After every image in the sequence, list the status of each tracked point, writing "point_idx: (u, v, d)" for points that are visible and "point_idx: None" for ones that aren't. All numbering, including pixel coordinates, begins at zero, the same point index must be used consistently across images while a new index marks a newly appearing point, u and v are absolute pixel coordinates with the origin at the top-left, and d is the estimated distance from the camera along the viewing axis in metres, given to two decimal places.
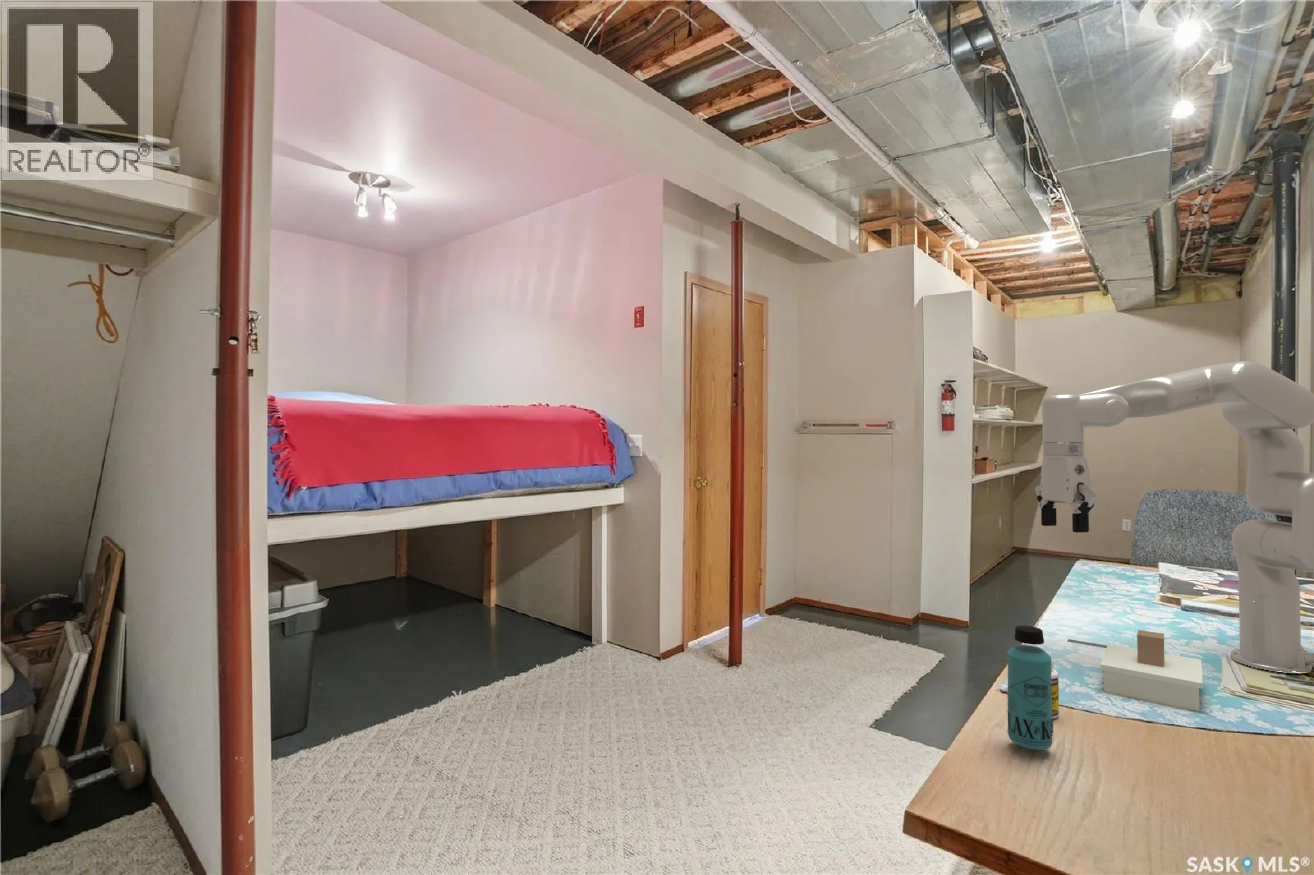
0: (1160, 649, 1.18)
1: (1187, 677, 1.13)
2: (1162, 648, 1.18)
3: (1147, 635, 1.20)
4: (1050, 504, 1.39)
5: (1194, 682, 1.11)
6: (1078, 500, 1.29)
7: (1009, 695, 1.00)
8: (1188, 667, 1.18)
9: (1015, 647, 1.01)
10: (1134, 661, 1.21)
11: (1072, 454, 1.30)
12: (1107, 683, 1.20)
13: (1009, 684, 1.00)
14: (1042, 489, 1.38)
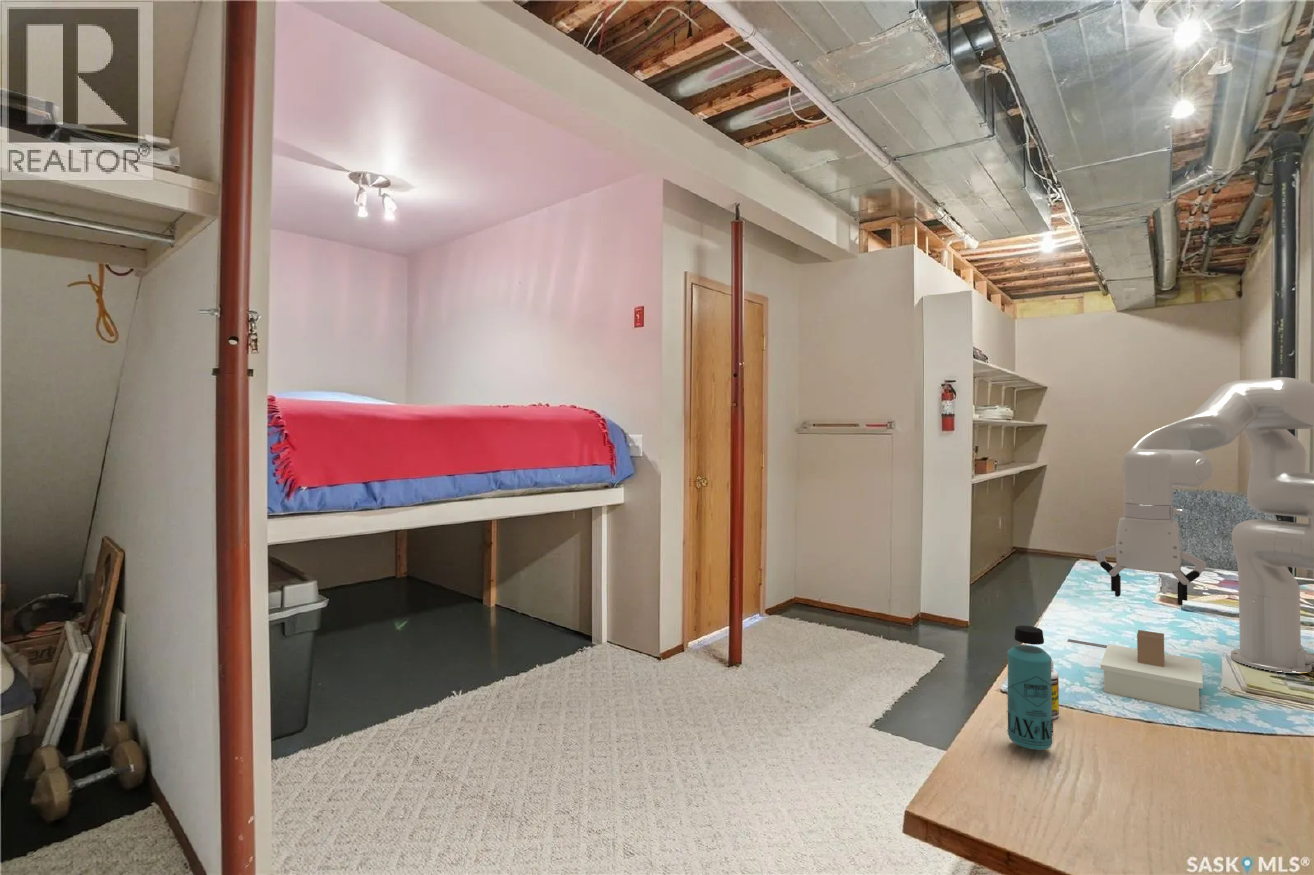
0: (1160, 649, 1.18)
1: (1187, 677, 1.13)
2: (1162, 648, 1.18)
3: (1147, 635, 1.20)
4: None
5: (1194, 682, 1.11)
6: None
7: (1009, 695, 1.00)
8: (1188, 667, 1.18)
9: (1015, 647, 1.01)
10: (1134, 661, 1.21)
11: (1171, 518, 1.18)
12: (1107, 683, 1.20)
13: (1009, 684, 1.00)
14: (1122, 556, 1.22)
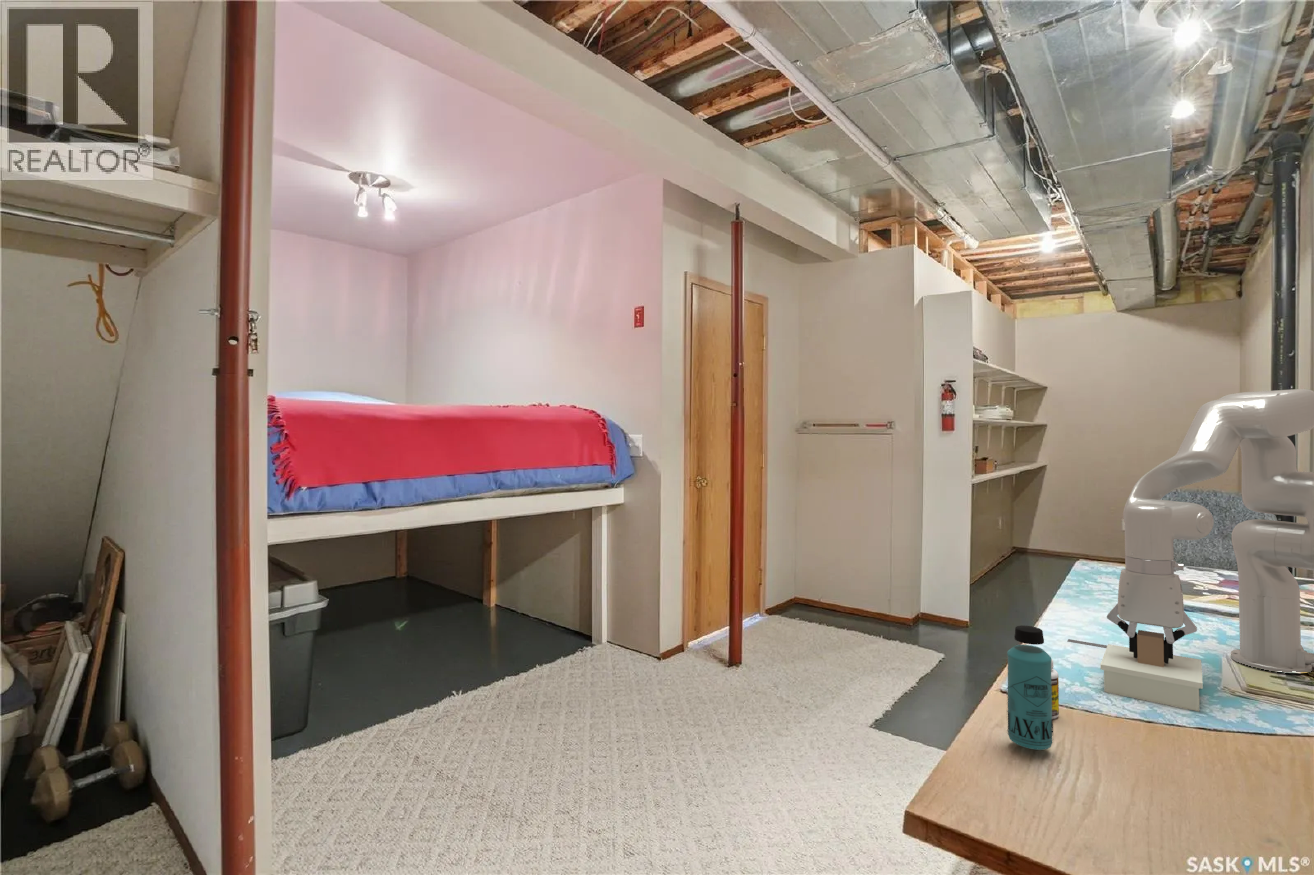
0: (1160, 649, 1.18)
1: (1187, 677, 1.13)
2: (1162, 648, 1.18)
3: (1147, 635, 1.20)
4: None
5: (1194, 682, 1.11)
6: None
7: (1009, 695, 1.00)
8: (1188, 667, 1.18)
9: (1015, 647, 1.01)
10: (1134, 661, 1.21)
11: None
12: (1107, 683, 1.20)
13: (1009, 684, 1.00)
14: (1125, 609, 1.22)
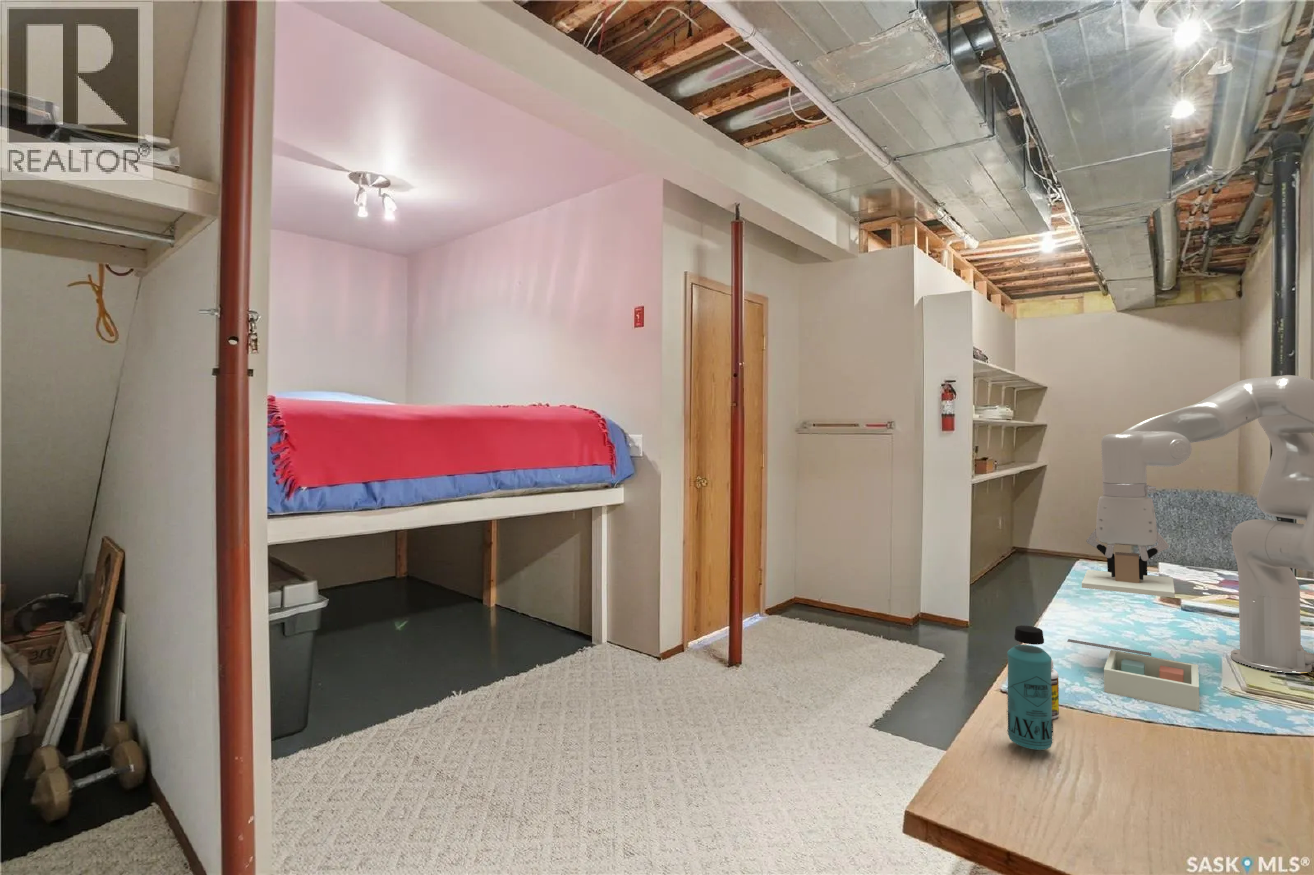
0: (1135, 567, 1.27)
1: (1161, 589, 1.22)
2: (1137, 565, 1.27)
3: (1124, 555, 1.29)
4: None
5: (1167, 592, 1.20)
6: None
7: (1009, 695, 1.00)
8: (1161, 583, 1.27)
9: (1015, 647, 1.01)
10: (1112, 580, 1.30)
11: (1146, 495, 1.27)
12: (1107, 683, 1.20)
13: (1009, 684, 1.00)
14: (1103, 532, 1.31)
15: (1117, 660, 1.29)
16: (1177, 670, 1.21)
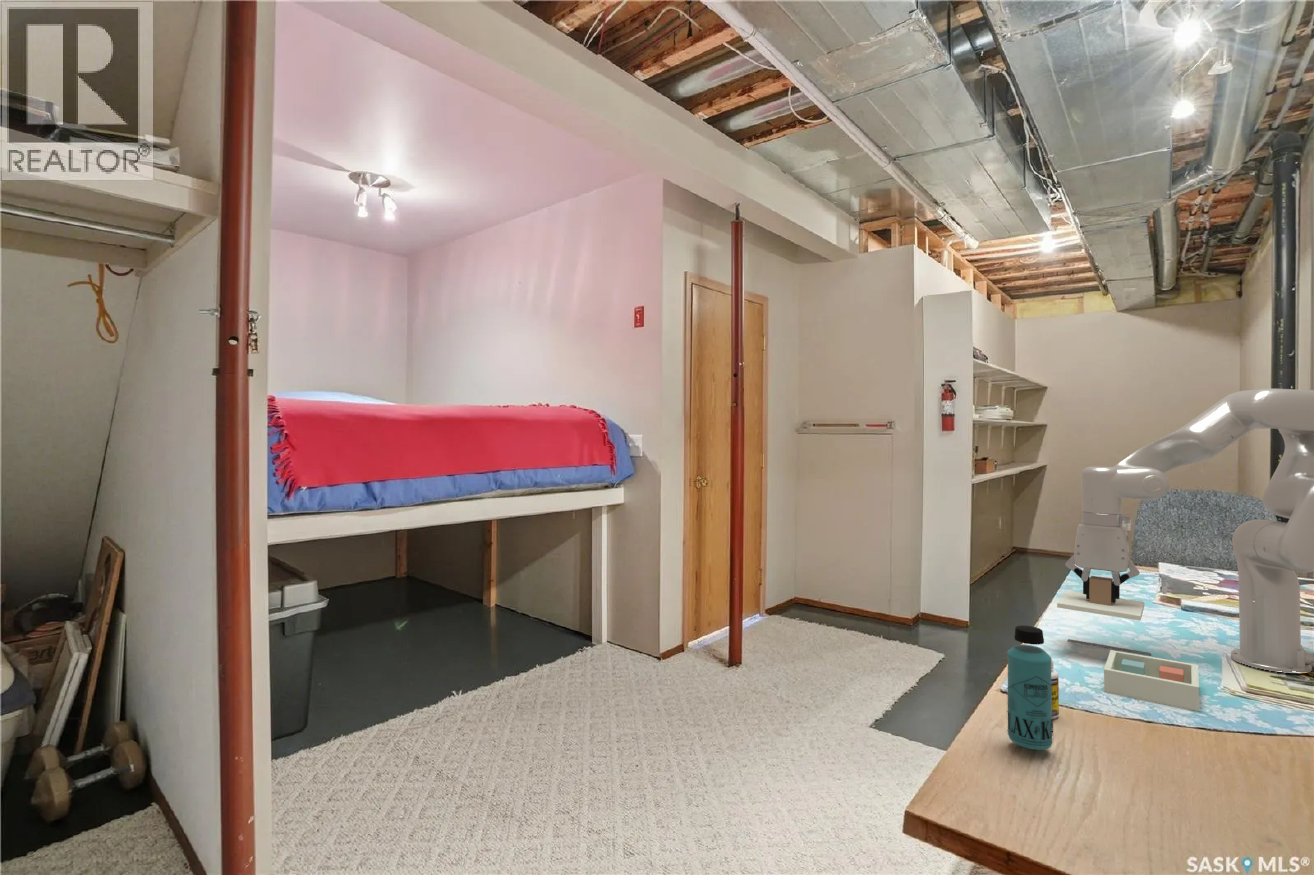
0: (1108, 590, 1.38)
1: (1129, 612, 1.33)
2: (1110, 589, 1.38)
3: (1098, 579, 1.40)
4: (1087, 575, 1.43)
5: (1134, 615, 1.31)
6: None
7: (1009, 695, 1.00)
8: (1131, 606, 1.37)
9: (1015, 647, 1.01)
10: (1086, 602, 1.41)
11: None
12: (1107, 683, 1.20)
13: (1009, 684, 1.00)
14: (1080, 557, 1.41)
15: (1117, 660, 1.29)
16: (1177, 670, 1.21)
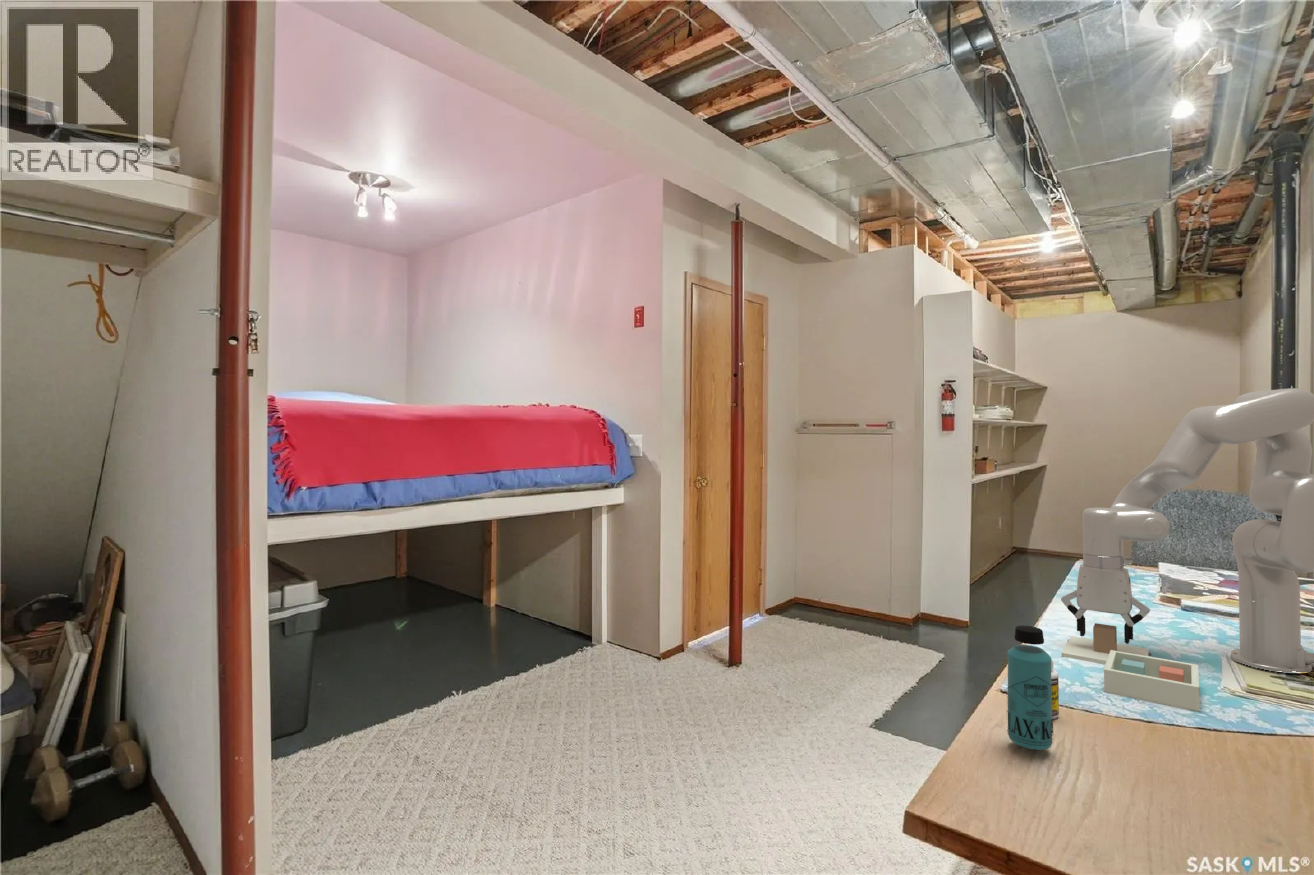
0: (1112, 640, 1.38)
1: None
2: (1114, 638, 1.38)
3: (1102, 627, 1.40)
4: None
5: None
6: None
7: (1009, 695, 1.00)
8: None
9: (1015, 647, 1.01)
10: (1090, 650, 1.41)
11: (1122, 567, 1.38)
12: (1107, 683, 1.20)
13: (1009, 684, 1.00)
14: (1082, 599, 1.41)
15: (1117, 660, 1.29)
16: (1177, 670, 1.21)
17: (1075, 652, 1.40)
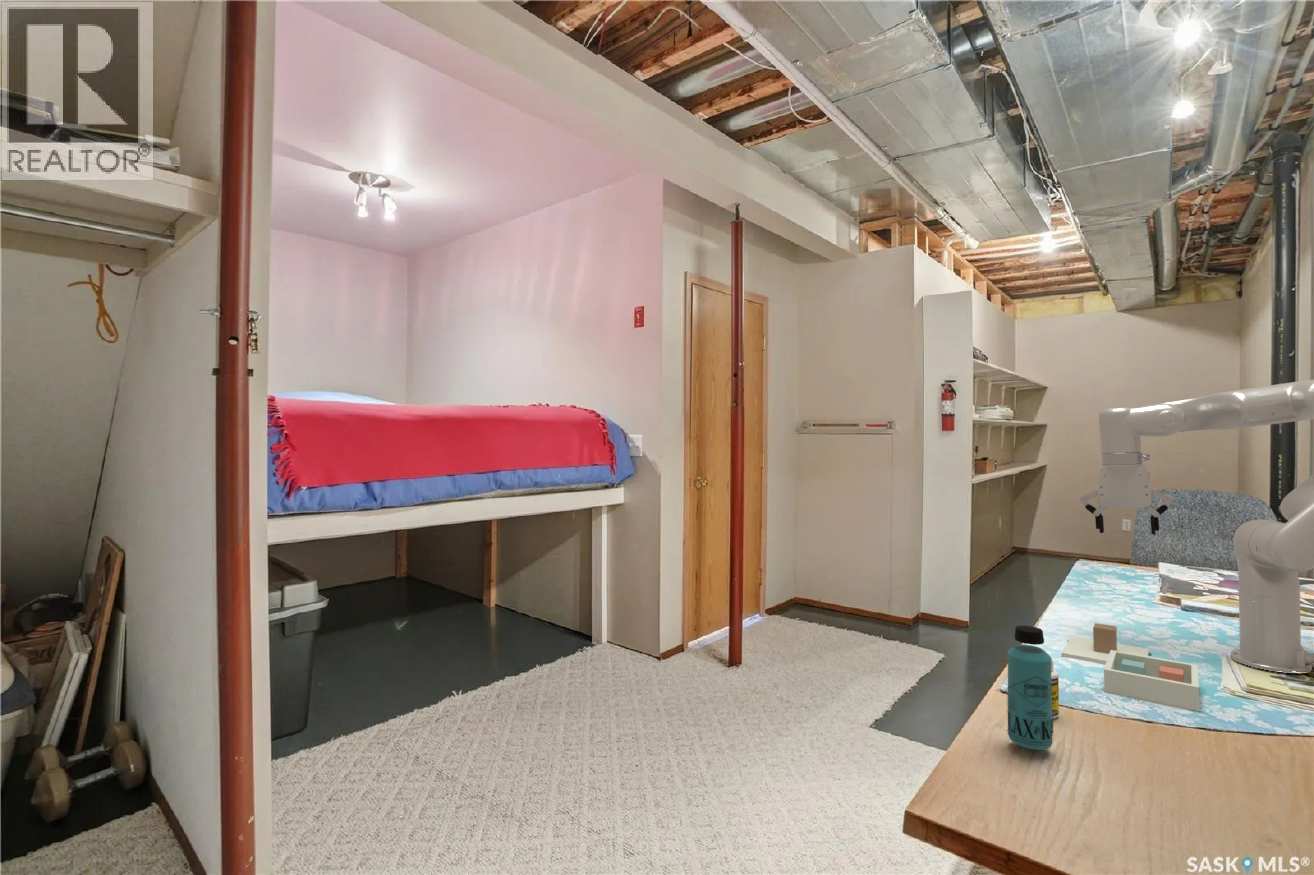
0: (1112, 640, 1.38)
1: None
2: (1114, 638, 1.38)
3: (1102, 627, 1.40)
4: None
5: None
6: None
7: (1009, 695, 1.00)
8: None
9: (1015, 647, 1.01)
10: (1090, 650, 1.41)
11: (1141, 462, 1.40)
12: (1107, 683, 1.20)
13: (1009, 684, 1.00)
14: (1103, 498, 1.44)
15: (1117, 660, 1.29)
16: (1177, 670, 1.21)
17: (1075, 652, 1.40)
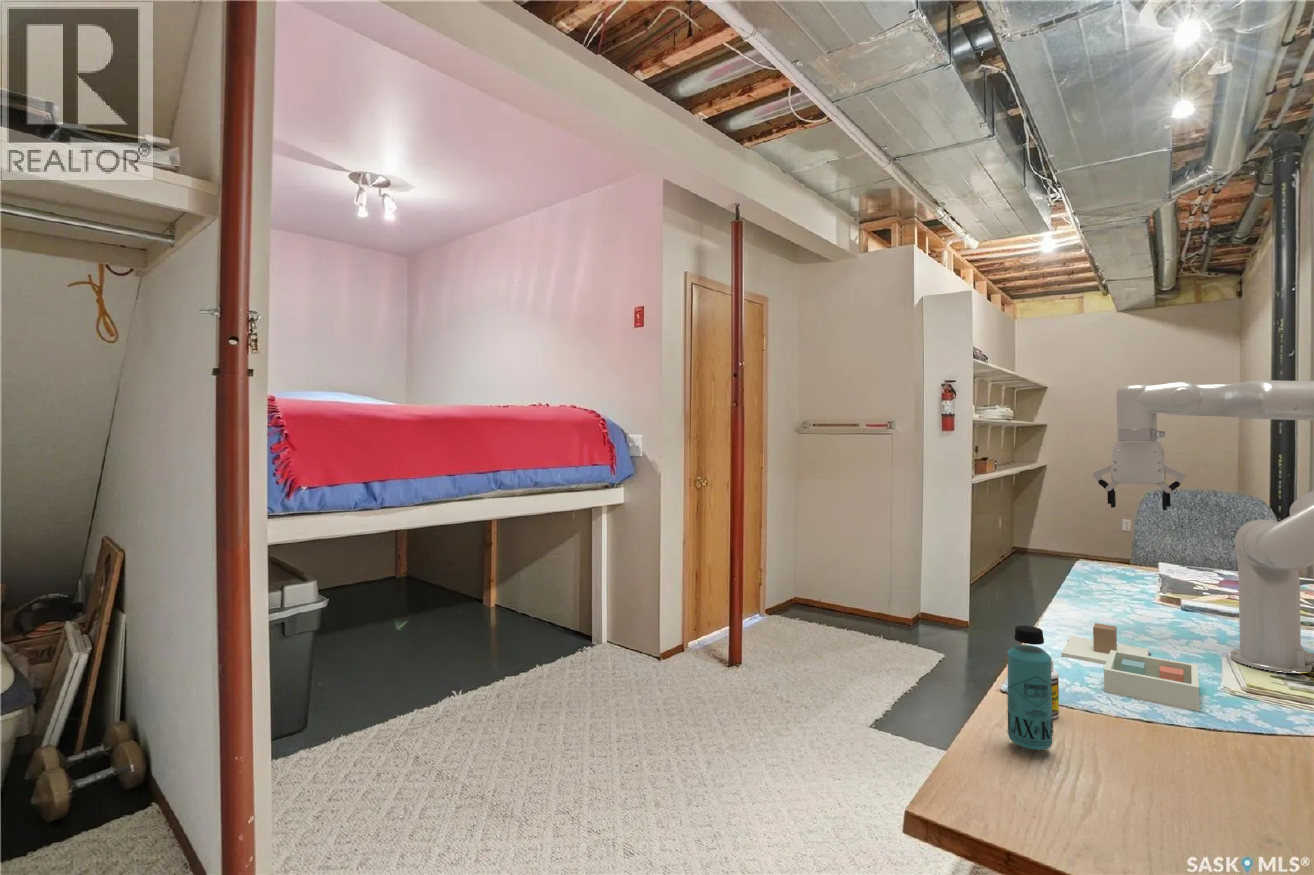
0: (1112, 640, 1.38)
1: None
2: (1114, 638, 1.38)
3: (1102, 627, 1.40)
4: None
5: None
6: None
7: (1009, 695, 1.00)
8: None
9: (1015, 647, 1.01)
10: (1090, 650, 1.41)
11: (1156, 439, 1.43)
12: (1107, 683, 1.20)
13: (1009, 684, 1.00)
14: (1117, 473, 1.46)
15: (1117, 660, 1.29)
16: (1177, 670, 1.21)
17: (1075, 652, 1.40)
